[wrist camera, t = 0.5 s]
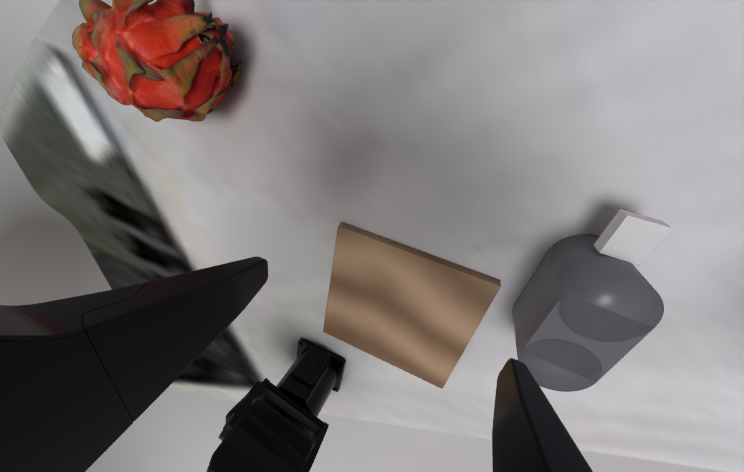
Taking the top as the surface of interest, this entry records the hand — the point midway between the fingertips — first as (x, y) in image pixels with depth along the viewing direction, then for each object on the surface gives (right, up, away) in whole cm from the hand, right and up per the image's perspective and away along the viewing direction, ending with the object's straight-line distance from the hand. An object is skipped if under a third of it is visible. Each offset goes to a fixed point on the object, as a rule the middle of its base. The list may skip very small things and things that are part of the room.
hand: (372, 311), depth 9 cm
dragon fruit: (-14, +17, +13) cm, 26 cm away
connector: (+14, 0, +10) cm, 17 cm away
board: (+2, -4, +17) cm, 18 cm away
